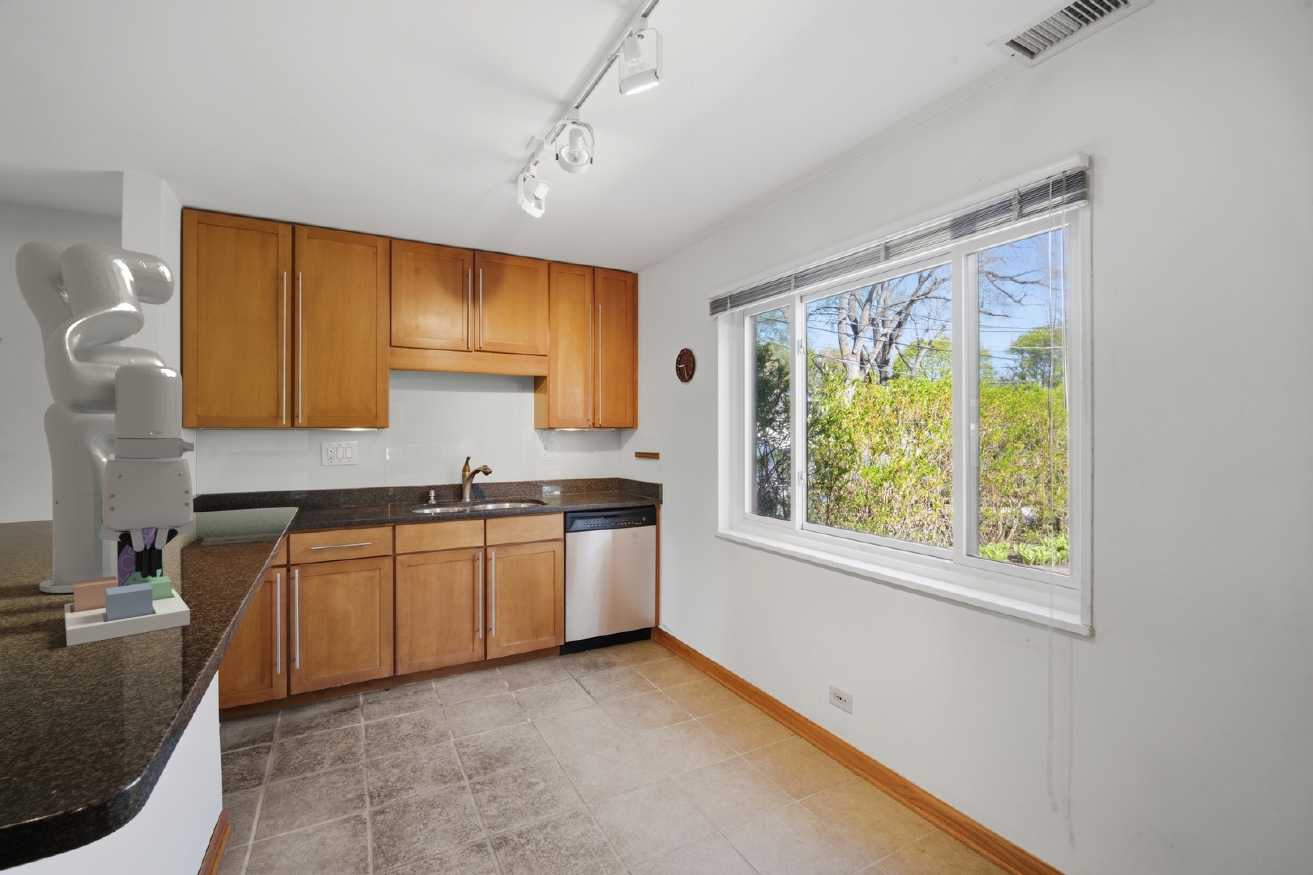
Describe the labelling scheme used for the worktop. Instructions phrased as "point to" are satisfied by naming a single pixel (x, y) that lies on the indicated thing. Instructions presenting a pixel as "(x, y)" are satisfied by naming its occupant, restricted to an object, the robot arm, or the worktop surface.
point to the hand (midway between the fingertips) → (148, 575)
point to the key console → (123, 621)
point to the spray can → (132, 560)
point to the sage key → (157, 587)
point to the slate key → (128, 601)
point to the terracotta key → (92, 593)
